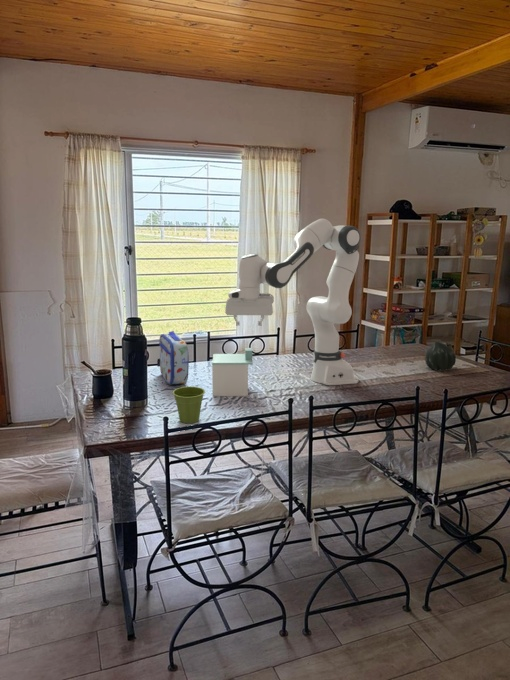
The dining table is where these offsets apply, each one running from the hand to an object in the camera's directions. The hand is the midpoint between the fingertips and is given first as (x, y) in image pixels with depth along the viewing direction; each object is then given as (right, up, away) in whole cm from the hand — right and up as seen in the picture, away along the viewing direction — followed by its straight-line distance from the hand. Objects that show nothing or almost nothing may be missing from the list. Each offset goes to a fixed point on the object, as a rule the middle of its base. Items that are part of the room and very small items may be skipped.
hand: (248, 325), depth 215 cm
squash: (+97, -21, +43) cm, 108 cm away
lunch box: (-36, -25, +22) cm, 49 cm away
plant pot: (-22, -36, -27) cm, 51 cm away
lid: (-8, -15, +3) cm, 17 cm away
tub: (-8, -29, +6) cm, 30 cm away
